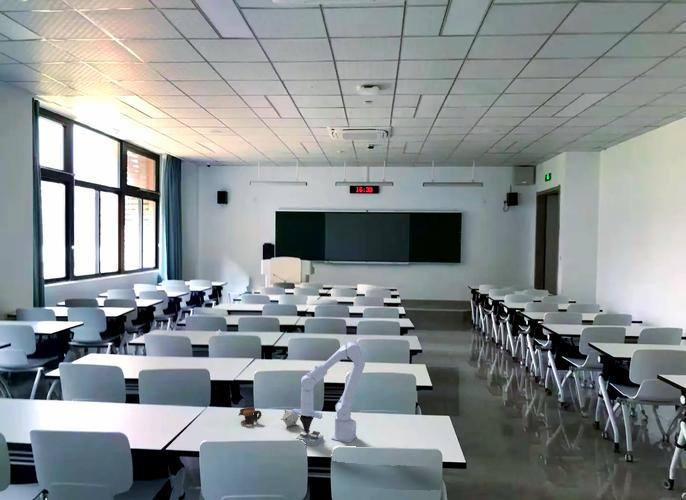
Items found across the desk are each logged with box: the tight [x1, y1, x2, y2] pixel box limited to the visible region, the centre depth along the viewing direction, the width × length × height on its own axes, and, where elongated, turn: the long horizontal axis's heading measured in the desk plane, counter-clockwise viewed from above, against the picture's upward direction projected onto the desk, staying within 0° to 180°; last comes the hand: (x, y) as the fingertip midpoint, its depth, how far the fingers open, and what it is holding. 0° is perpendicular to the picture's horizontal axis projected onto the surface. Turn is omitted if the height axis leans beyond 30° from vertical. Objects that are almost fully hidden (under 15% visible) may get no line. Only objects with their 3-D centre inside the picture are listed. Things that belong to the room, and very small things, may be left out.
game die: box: [280, 407, 301, 429], centre depth 233 cm, size 9×8×10 cm
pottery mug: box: [238, 406, 263, 426], centre depth 237 cm, size 12×10×8 cm
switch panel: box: [295, 432, 324, 447], centre depth 216 cm, size 10×7×3 cm
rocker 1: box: [299, 428, 311, 437], centre depth 217 cm, size 3×4×1 cm
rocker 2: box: [310, 430, 321, 439], centre depth 215 cm, size 3×4×1 cm
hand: (306, 431), depth 219 cm, fingers closed, pressing on rocker 1
